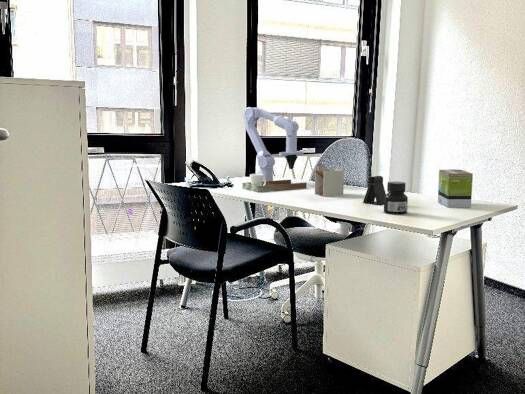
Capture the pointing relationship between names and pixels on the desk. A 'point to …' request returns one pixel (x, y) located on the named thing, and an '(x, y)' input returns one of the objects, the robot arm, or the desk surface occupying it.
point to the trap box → (274, 186)
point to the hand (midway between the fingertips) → (291, 168)
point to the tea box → (455, 188)
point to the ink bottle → (395, 198)
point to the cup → (257, 179)
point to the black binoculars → (375, 191)
